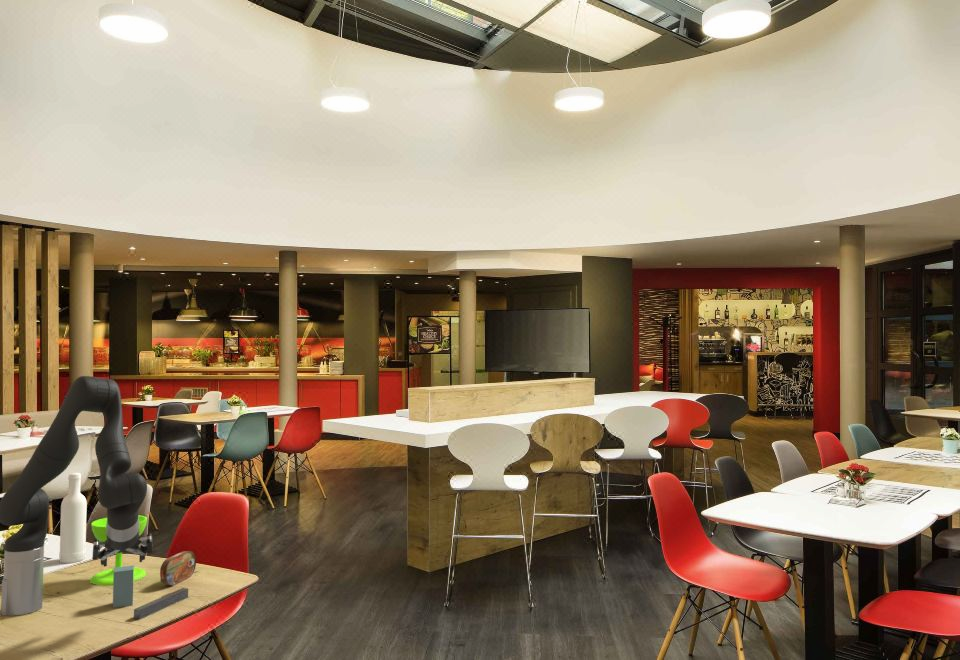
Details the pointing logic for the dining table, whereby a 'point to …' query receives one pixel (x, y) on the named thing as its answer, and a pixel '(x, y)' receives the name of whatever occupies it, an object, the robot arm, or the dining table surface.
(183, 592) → the price rail
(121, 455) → the robot arm
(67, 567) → the dining table surface
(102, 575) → the wineglass
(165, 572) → the tin
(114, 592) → the carton
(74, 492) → the bottle
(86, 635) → the dining table surface
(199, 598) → the dining table surface
